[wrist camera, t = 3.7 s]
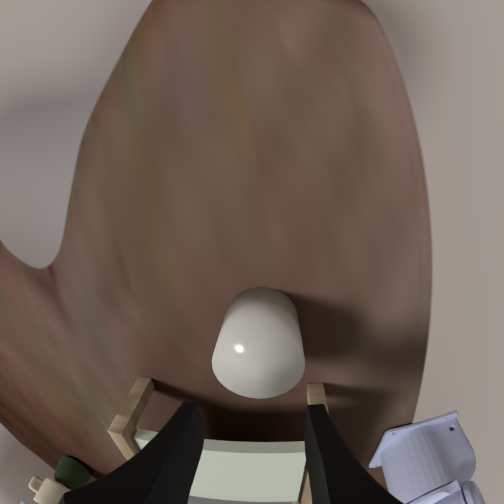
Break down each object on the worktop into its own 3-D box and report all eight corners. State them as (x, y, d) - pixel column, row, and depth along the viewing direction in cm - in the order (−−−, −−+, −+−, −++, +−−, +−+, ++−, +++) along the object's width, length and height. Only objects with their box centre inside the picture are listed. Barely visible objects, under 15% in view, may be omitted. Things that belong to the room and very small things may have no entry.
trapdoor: (295, 501, 19) (295, 515, 17) (178, 494, 20) (174, 506, 18) (306, 440, 15) (307, 461, 13) (138, 428, 16) (130, 445, 14)
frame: (322, 382, 20) (335, 449, 13) (306, 472, 24) (309, 517, 18) (138, 376, 21) (107, 430, 14) (178, 466, 25) (166, 508, 19)
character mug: (53, 452, 31) (26, 495, 18) (52, 440, 29) (20, 489, 16) (102, 483, 32) (80, 530, 19) (106, 475, 30) (81, 529, 17)
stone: (298, 285, 17) (307, 327, 13) (297, 347, 19) (302, 397, 14) (222, 287, 18) (206, 328, 13) (229, 348, 19) (217, 397, 14)
